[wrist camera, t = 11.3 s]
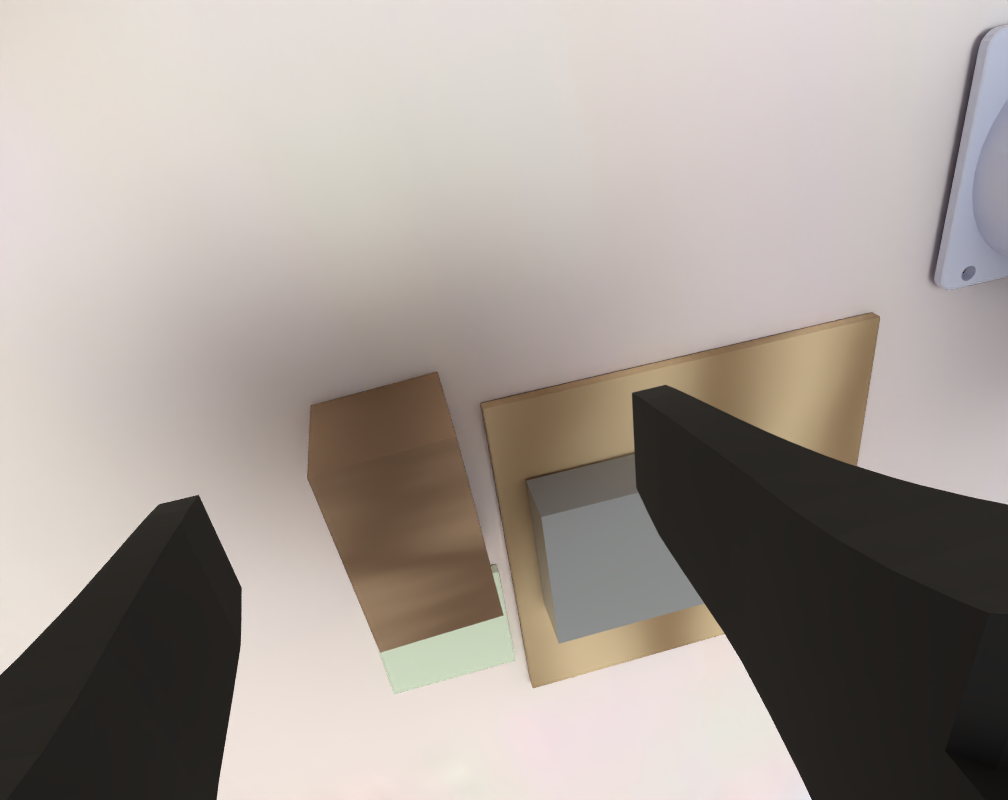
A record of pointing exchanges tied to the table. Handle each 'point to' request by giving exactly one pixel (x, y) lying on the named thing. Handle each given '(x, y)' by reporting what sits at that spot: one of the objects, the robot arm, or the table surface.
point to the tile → (601, 552)
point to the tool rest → (451, 652)
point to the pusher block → (401, 510)
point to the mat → (609, 435)
